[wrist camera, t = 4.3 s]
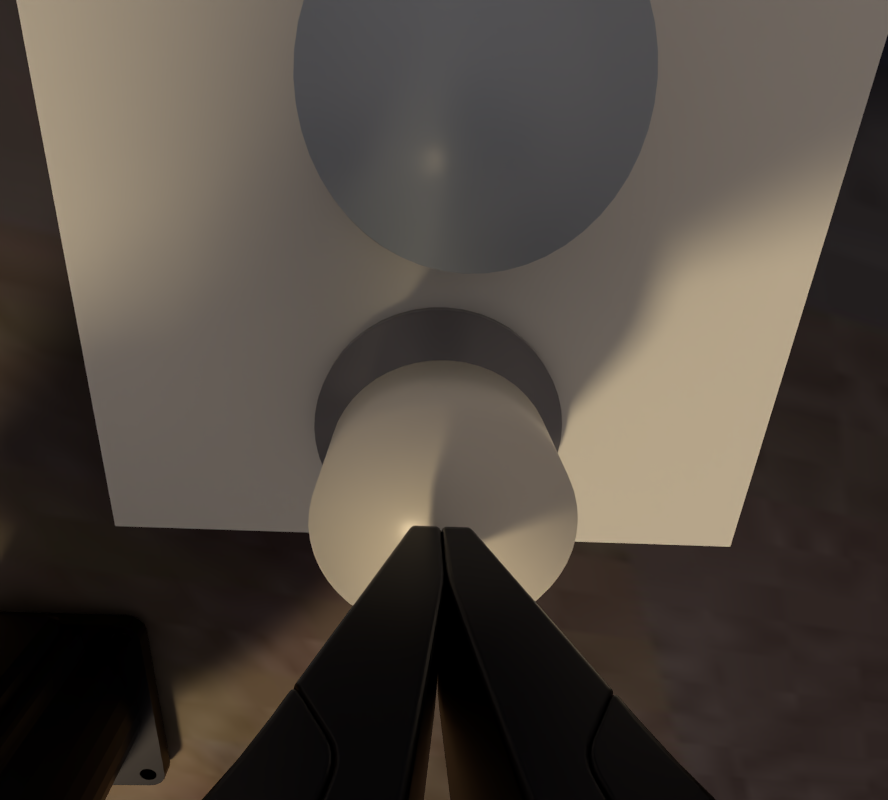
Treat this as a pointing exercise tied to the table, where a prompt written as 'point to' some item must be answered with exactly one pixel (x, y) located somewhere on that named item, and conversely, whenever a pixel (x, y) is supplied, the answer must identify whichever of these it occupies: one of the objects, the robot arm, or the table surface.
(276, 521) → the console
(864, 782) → the table surface
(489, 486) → the ivory button
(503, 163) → the slate button
